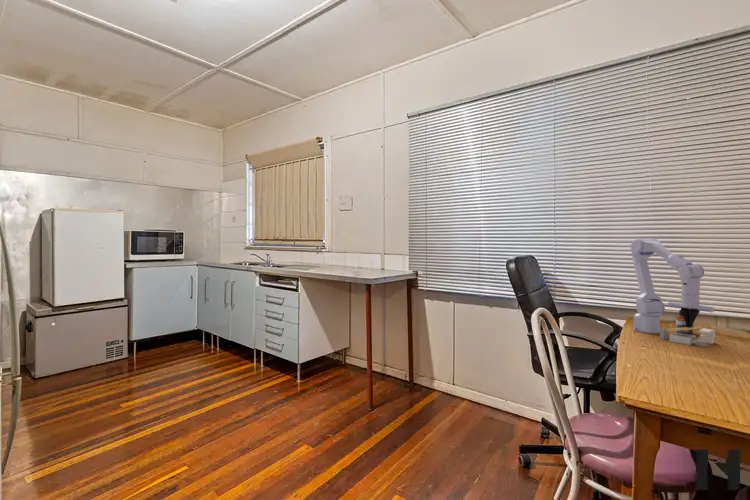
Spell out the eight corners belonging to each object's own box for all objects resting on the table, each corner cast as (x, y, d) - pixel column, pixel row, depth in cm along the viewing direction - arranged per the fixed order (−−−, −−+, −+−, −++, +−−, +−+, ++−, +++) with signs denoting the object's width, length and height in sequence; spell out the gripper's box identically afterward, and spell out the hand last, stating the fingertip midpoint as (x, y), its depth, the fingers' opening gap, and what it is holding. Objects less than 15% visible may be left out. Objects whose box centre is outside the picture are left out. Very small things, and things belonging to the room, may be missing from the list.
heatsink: (669, 341, 161) (669, 334, 161) (675, 339, 165) (675, 332, 165) (690, 345, 155) (690, 338, 155) (696, 342, 159) (696, 335, 159)
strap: (663, 331, 164) (662, 329, 164) (665, 330, 166) (665, 328, 166) (700, 328, 154) (700, 326, 154) (702, 328, 155) (702, 326, 155)
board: (650, 344, 161) (650, 330, 160) (670, 336, 173) (670, 323, 173) (698, 354, 148) (699, 339, 147) (716, 345, 160) (717, 331, 160)
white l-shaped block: (696, 343, 158) (696, 330, 158) (702, 340, 162) (702, 328, 162) (708, 345, 154) (709, 332, 154) (714, 342, 158) (714, 330, 158)
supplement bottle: (686, 334, 178) (687, 309, 177) (695, 337, 172) (696, 312, 171) (672, 333, 178) (673, 309, 178) (681, 337, 172) (682, 312, 172)
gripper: (665, 292, 161) (664, 325, 161) (710, 297, 149) (708, 332, 150) (671, 291, 165) (670, 322, 166) (715, 295, 153) (714, 329, 154)
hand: (689, 327), depth 158 cm, fingers closed
